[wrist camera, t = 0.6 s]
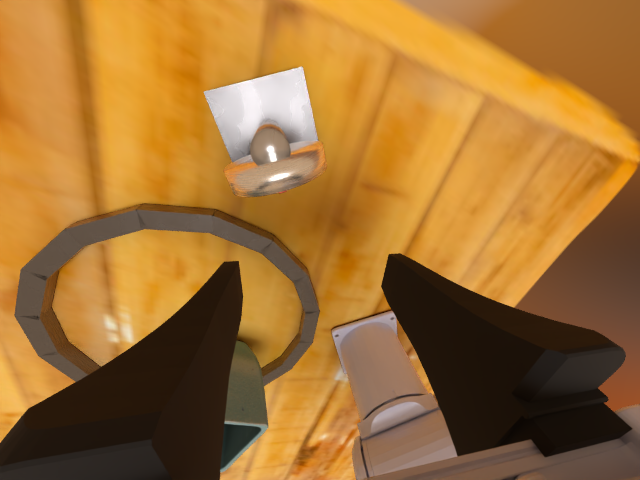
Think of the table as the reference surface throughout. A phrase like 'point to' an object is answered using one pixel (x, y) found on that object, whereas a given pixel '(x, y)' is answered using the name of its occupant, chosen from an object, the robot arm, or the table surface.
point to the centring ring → (46, 264)
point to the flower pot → (243, 406)
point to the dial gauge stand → (268, 133)
